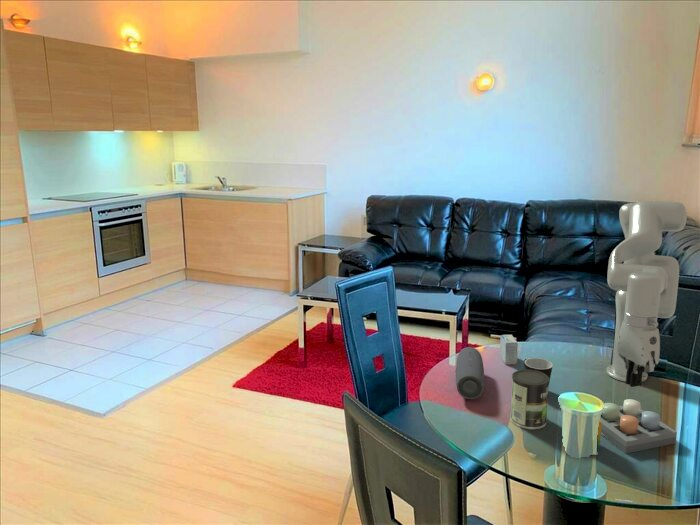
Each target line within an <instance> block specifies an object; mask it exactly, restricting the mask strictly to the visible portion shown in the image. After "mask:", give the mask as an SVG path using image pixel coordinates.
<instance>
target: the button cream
mask: <svg viewBox="0 0 700 525" xmlns="http://www.w3.org/2000/svg"><path fill="white" fill-rule="evenodd" d="M622 405H623V413H624V414H625V415H631V416H634V417H638V416H640V410H641V409H642V404H641V402H640V401H638V400H636V399H631V398H628V399H624V400H623V404H622Z"/></svg>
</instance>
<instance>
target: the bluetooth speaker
mask: <svg viewBox="0 0 700 525" xmlns="http://www.w3.org/2000/svg"><path fill="white" fill-rule="evenodd" d="M454 372H455V382H456V383H455V387H456V390H457V392H458V394H459V395H460V396H461V398H463V399H467V400H476V399H479V397H481V396H482V394H483V393H484V389H485V368H484V362H483V357H482V354H481V352H480V351H479V350H478V349H476V348H475V347H472V346H467V347H464V348H462V349H460V351H459V352H458V355H457V357H456V366H455V371H454Z"/></svg>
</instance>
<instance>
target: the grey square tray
mask: <svg viewBox="0 0 700 525" xmlns="http://www.w3.org/2000/svg"><path fill="white" fill-rule="evenodd" d="M618 406H619V407H620V414H619V420H617V421H610V420H607V419H605V418H603V417H602V415H601V419H600V420H601V422H602V425H601V432H602V433H603V434H604V435H605V436H606V437H607V438H608V439H609V440H610V441H611V442H612V443H613V444H612V443H611V442H610V441H609V442H610V443H611V444H612V445H613V446H615V447H616V448H618V450H621V452H623V454H629V453H634V452H640V451H644V450H650V449H654V448H659V447H664V446H665V447H666V446H668V445H669V444H670V445H675V444H676V441H677V430H675V429H673V428H671V427H670V426H669V425H667V424H666V423H664V422H662V421H661V420H660V425H659V429H657V430H650V429H647V428H644V427H643V426H642V425H641V419H642V412H644V411H645V410H644V409H642V408H641V410H640V416H638V417H636V418H637V419H638V420H639V423H638V432H637V433H636V434H627V433H624V432H622V431H621V430H620V428H619V427H620V418H621V416H622V415H625V414H624V413H623V404H622V405H618Z"/></svg>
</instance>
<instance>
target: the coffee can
mask: <svg viewBox="0 0 700 525" xmlns="http://www.w3.org/2000/svg"><path fill="white" fill-rule="evenodd" d="M511 379H512V380H511V381H512V382H511V403H510V404H511V405H510V406H511V408H510V421H511V423H513V424H514V425H515V426H517V427H519V428H522V429H524V430H525V429H526V430H540V429H542V428H544V427H546V425H547V419H548V417H547V416H548V403H549V402H548V400H549V386H550V382H549V380H551V378H550V379H549V377H548V376H547V375H546V374H544V373H542V372H540V371H536V370H529V369H525V368H524V369H519V370H515V371H513V373H512V374H511Z"/></svg>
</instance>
